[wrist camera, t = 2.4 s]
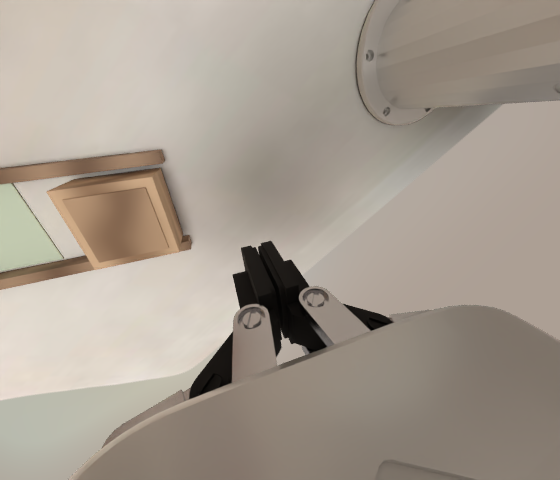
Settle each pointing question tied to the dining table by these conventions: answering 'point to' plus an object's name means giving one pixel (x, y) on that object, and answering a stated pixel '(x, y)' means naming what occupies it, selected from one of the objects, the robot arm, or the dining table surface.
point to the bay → (28, 231)
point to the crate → (120, 216)
